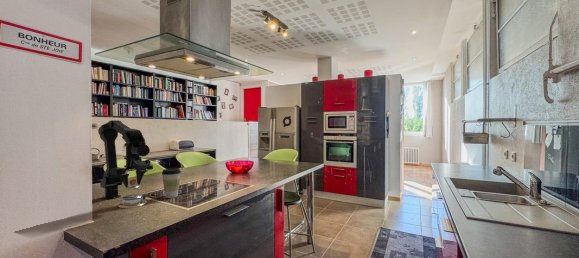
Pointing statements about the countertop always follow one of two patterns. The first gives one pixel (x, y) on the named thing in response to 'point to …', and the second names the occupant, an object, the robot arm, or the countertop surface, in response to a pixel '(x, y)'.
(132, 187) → the plunger
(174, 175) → the coffee cup
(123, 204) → the press pot
